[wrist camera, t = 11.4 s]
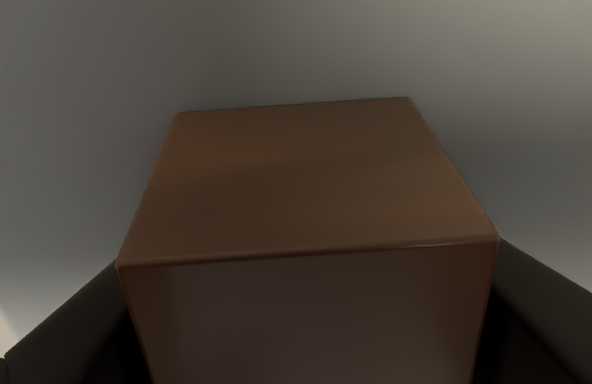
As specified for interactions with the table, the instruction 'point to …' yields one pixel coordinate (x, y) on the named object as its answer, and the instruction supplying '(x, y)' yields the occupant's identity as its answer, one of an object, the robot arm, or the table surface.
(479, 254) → the block
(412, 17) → the table surface
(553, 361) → the robot arm
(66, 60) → the table surface
